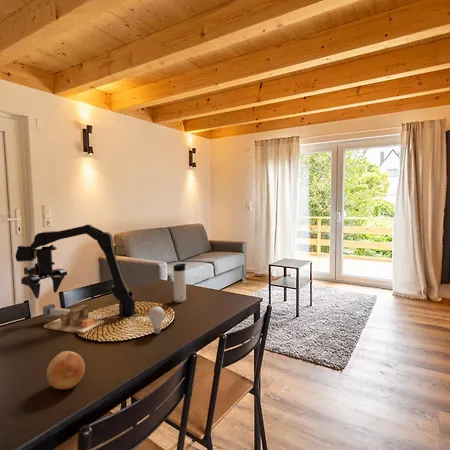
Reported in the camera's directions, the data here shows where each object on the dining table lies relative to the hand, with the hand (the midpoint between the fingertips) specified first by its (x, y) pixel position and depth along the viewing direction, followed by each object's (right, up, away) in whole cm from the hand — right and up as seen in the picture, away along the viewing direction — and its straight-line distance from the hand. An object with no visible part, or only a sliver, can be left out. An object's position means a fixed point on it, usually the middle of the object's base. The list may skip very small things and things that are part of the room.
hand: (46, 295), depth 137 cm
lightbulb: (+52, -12, -13) cm, 55 cm away
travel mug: (+55, -9, +27) cm, 63 cm away
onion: (+34, -15, -48) cm, 61 cm away
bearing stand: (+15, -12, -4) cm, 20 cm away
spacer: (+20, -10, -6) cm, 24 cm away
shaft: (+8, -9, -2) cm, 12 cm away
